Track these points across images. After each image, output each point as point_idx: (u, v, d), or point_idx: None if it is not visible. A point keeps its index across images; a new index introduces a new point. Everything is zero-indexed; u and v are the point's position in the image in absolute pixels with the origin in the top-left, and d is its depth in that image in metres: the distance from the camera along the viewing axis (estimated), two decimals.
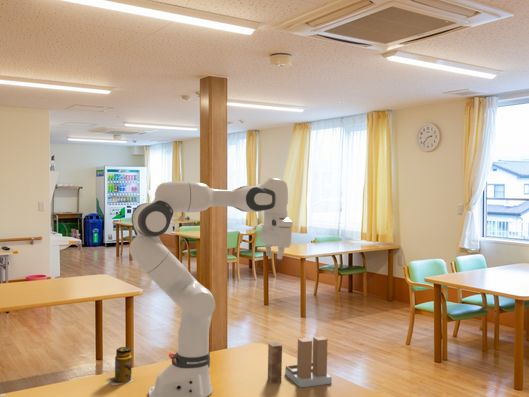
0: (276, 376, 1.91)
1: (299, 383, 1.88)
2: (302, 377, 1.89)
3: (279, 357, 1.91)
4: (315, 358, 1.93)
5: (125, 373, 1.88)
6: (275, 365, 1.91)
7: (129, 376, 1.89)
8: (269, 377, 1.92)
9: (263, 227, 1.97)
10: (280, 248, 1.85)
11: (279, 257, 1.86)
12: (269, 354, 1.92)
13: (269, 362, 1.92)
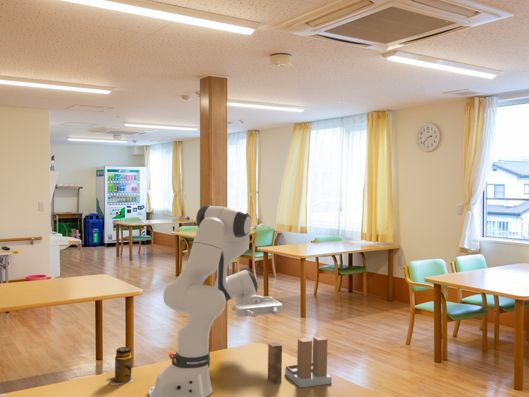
0: (276, 376, 1.91)
1: (299, 383, 1.88)
2: (302, 377, 1.89)
3: (279, 357, 1.91)
4: (315, 358, 1.93)
5: (125, 373, 1.88)
6: (275, 365, 1.91)
7: (129, 376, 1.89)
8: (269, 377, 1.92)
9: (239, 304, 2.11)
10: None
11: None
12: (269, 354, 1.92)
13: (269, 362, 1.92)
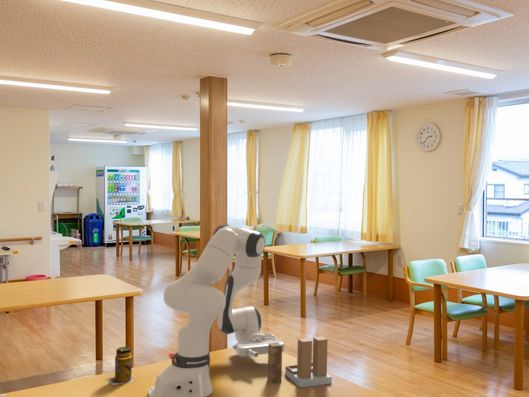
0: (276, 376, 1.91)
1: (299, 383, 1.88)
2: (302, 377, 1.89)
3: (279, 357, 1.91)
4: (315, 358, 1.93)
5: (125, 373, 1.88)
6: (275, 365, 1.91)
7: (129, 376, 1.89)
8: (269, 377, 1.92)
9: (240, 342, 2.07)
10: None
11: None
12: (269, 354, 1.92)
13: (269, 362, 1.92)
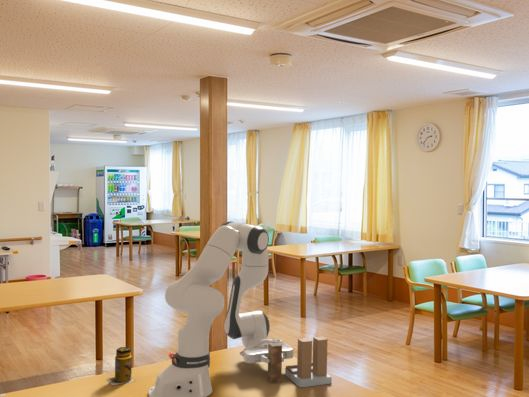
0: (276, 376, 1.91)
1: (299, 383, 1.88)
2: (302, 377, 1.89)
3: (279, 357, 1.91)
4: (315, 358, 1.93)
5: (125, 373, 1.88)
6: (275, 365, 1.91)
7: (129, 376, 1.89)
8: (269, 377, 1.92)
9: (248, 348, 1.99)
10: None
11: None
12: (269, 354, 1.92)
13: None
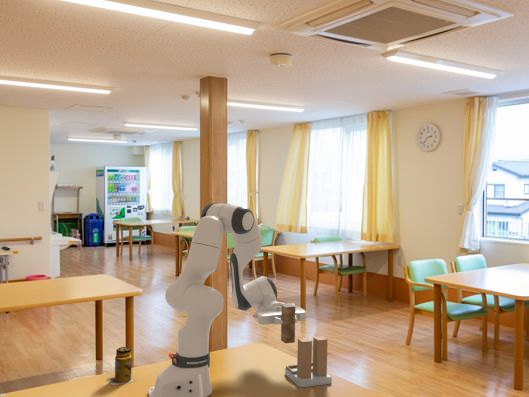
0: (289, 337, 1.93)
1: (299, 383, 1.88)
2: (302, 377, 1.89)
3: (292, 318, 1.93)
4: (315, 358, 1.93)
5: (125, 373, 1.88)
6: (289, 326, 1.93)
7: (129, 376, 1.89)
8: (282, 338, 1.95)
9: (261, 311, 2.02)
10: None
11: None
12: (282, 315, 1.95)
13: None
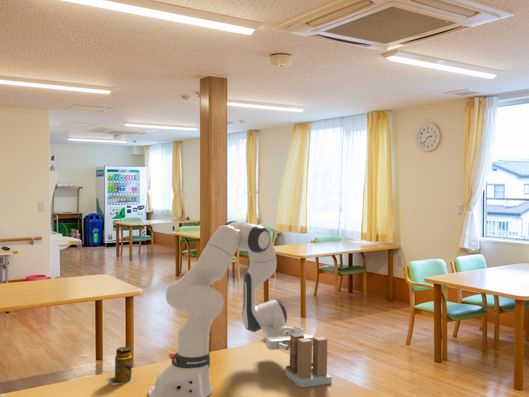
0: None
1: (299, 383, 1.88)
2: (302, 377, 1.89)
3: None
4: (315, 358, 1.93)
5: (125, 373, 1.88)
6: None
7: (129, 376, 1.89)
8: (291, 367, 1.96)
9: (270, 336, 2.03)
10: None
11: None
12: (291, 344, 1.97)
13: (291, 352, 1.97)
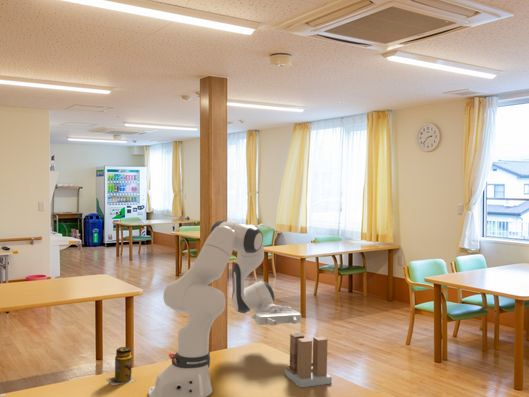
0: None
1: (299, 383, 1.88)
2: (302, 377, 1.89)
3: None
4: (315, 358, 1.93)
5: (125, 373, 1.88)
6: None
7: (129, 376, 1.89)
8: (291, 367, 1.96)
9: (259, 312, 2.16)
10: None
11: None
12: (291, 344, 1.97)
13: (291, 352, 1.97)
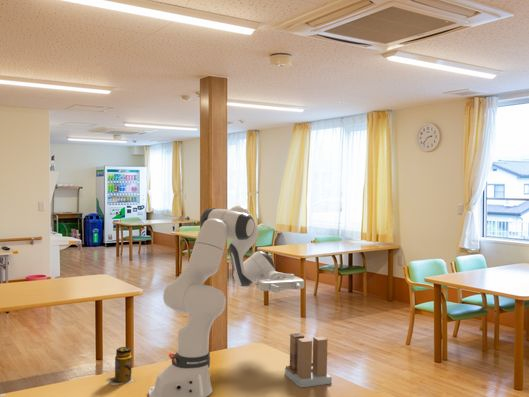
0: None
1: (299, 383, 1.88)
2: (302, 377, 1.89)
3: None
4: (315, 358, 1.93)
5: (125, 373, 1.88)
6: None
7: (129, 376, 1.89)
8: (291, 367, 1.96)
9: (262, 279, 2.18)
10: None
11: None
12: (291, 344, 1.97)
13: (291, 352, 1.97)
